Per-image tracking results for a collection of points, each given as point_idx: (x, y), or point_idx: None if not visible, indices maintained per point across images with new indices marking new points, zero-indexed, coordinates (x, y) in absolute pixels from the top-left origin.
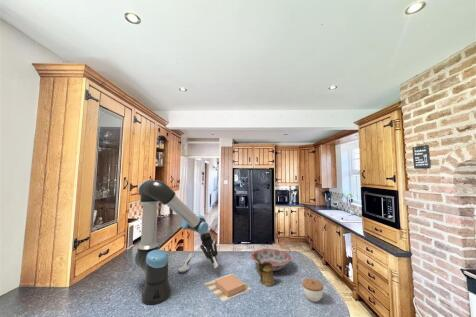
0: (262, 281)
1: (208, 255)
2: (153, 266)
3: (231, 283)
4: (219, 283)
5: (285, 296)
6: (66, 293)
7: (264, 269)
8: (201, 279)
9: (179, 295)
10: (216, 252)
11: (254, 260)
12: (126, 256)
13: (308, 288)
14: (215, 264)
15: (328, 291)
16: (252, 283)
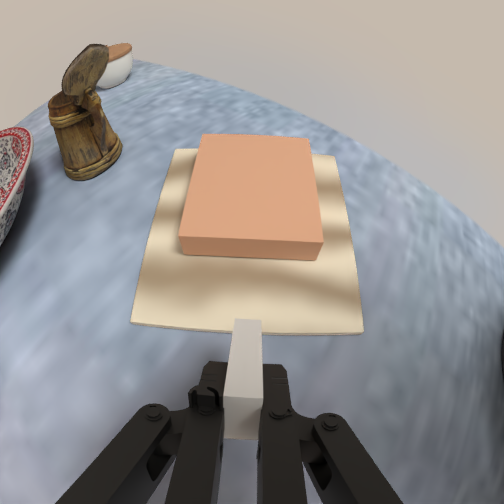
0: (114, 145)
1: (337, 431)
2: None
3: (255, 165)
4: (315, 201)
5: (140, 99)
6: None
7: (97, 97)
8: (345, 412)
9: (477, 314)
10: (144, 431)
11: (3, 205)
12: None
13: (130, 47)
14: (259, 331)
15: None
16: (131, 182)
